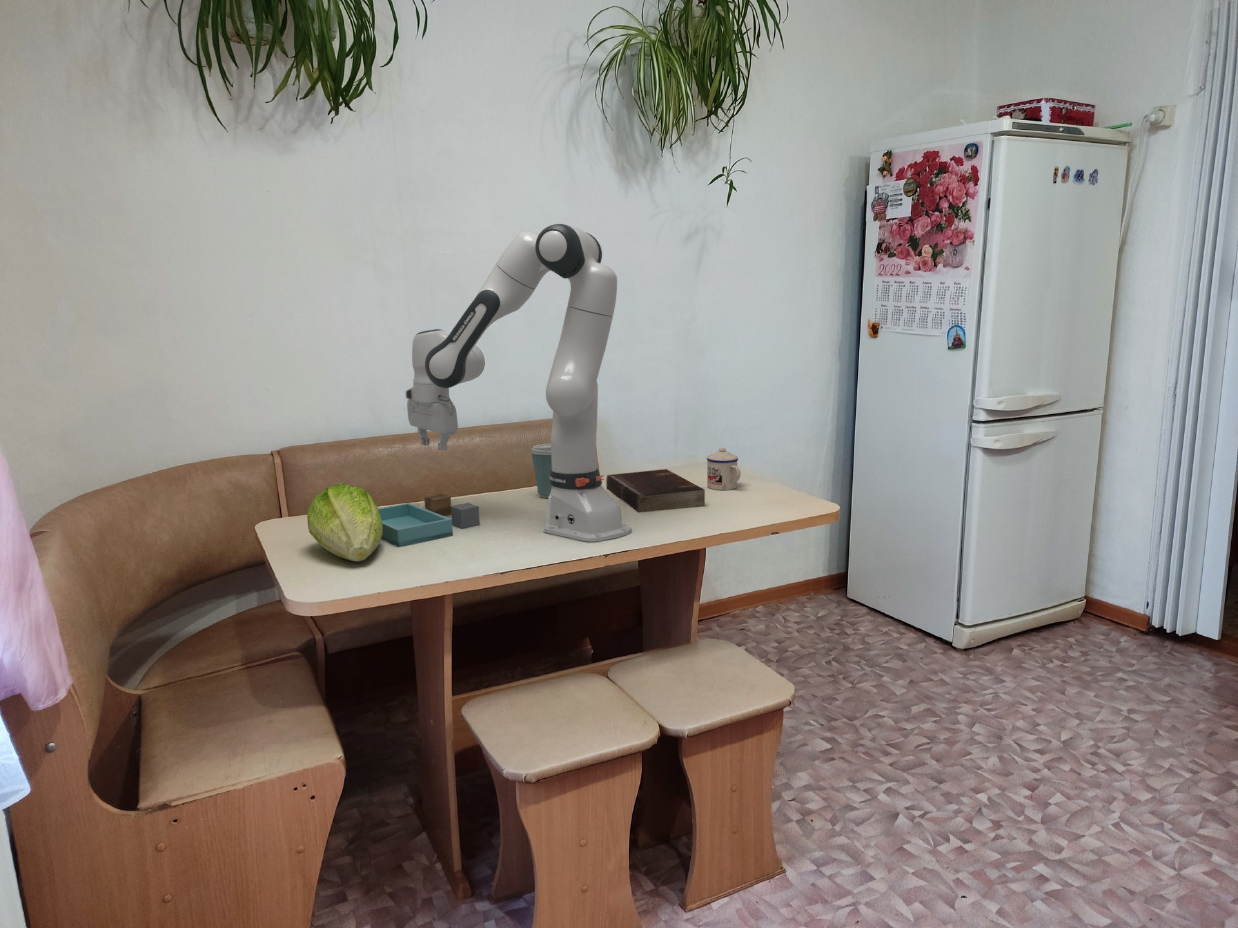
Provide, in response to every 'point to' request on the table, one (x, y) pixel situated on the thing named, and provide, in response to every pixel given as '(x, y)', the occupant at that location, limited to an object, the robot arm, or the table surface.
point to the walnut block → (438, 504)
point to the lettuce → (345, 521)
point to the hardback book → (655, 490)
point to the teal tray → (412, 524)
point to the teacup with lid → (722, 470)
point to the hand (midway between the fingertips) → (433, 447)
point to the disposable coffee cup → (542, 468)
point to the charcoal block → (465, 515)
